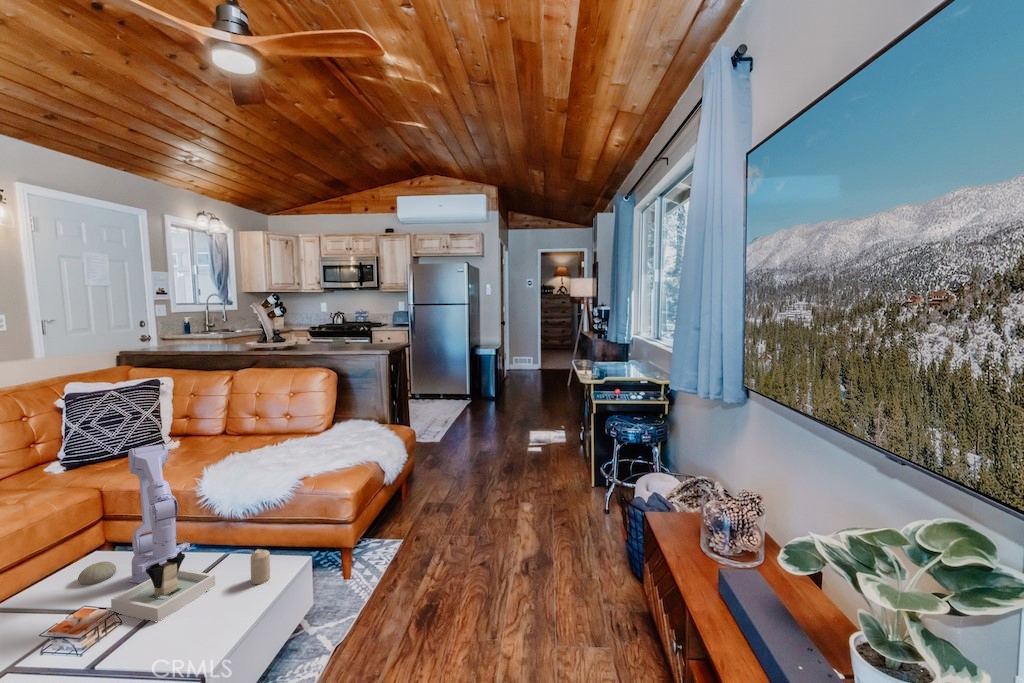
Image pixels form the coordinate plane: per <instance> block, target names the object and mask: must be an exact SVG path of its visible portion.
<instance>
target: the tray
mask: <svg viewBox="0 0 1024 683" xmlns="http://www.w3.org/2000/svg"><path fill="white" fill-rule="evenodd" d="M214 586H215V587H216V574H214V573H213V574H211V573H207V572H200V571H194V570H190V569H184V568H183V569H182V568H179V571H178V574H177V588H178V589H176V590H174V591H173V592H172V593H171V595H169V596H167V597H166V598H164V599H159V598H161V597H162V596H161V595H156V594H154V585H153V582H152V580H151V579H149V580H147V581H145V582H143V583H141V584H139V583H138V585H136V586H133V587H132V588H130V589H128V590H126V591H124V592H123V593H120V594H118V595H117V596H114V597H113V598H111V599H110V603H111V604H110V606H111V607H110V609H111V610H112V611H115V612H117V613H119V614H118V615H120V614H122V615H121V616H126V617H129V616H131V618H134V617H136V618H135V619H139V618H141V619H140V620H143V619H146V620H145V621H148V620H152V621H157V622H158V621H160V620H161V619H163V618H165V617H166V616H168V615H169V616H171V615H172V614H171V613H173V612H174V613H176V612H177V611H176V610H178V609H179V610H181V609H182V608H184V607H185V606H184V605H186V604H187V605H189V604H191V603H192V602H193V601H192V600H194V599H195V598H197V597H199V596H200V595H202V594H203V593H205V592H206V591H208V590H209V589H210V588H212V587H214ZM208 592H209V591H208ZM205 594H206V593H205ZM203 595H204V594H203ZM203 595H202V596H203ZM160 596H161V597H160ZM158 597H159V598H158ZM200 597H201V596H200ZM200 597H199V598H200ZM156 598H157V599H156ZM197 599H198V598H197ZM195 600H196V599H195ZM195 600H194V601H195ZM191 601H192V602H191ZM188 603H189V604H188ZM187 605H186V606H187ZM183 606H184V607H183ZM181 607H182V608H181ZM180 608H181V609H180ZM179 610H178V611H179ZM175 611H176V612H175ZM174 613H173V614H174ZM170 614H171V615H170ZM169 616H168V617H169ZM166 618H167V617H166ZM166 618H165V619H166ZM163 620H164V619H163ZM152 621H151V622H152ZM161 621H162V620H161ZM161 621H160V622H161ZM157 622H156V623H157ZM158 623H159V622H158Z"/></svg>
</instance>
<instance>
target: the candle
mask: <svg viewBox="0 0 1024 683" xmlns="http://www.w3.org/2000/svg"><path fill="white" fill-rule="evenodd" d="M270 554H271V552H270V551H269V550H267V549H262V548H258V549H256V550H255V551H254V552H252V554H251V555H250V582H251V584H252V583H253V584H252V585H255V584H257V585H262V584H264V582H265V583H267V582H268V581H269V580H270V579H271V557H270V556H271V555H270ZM266 581H267V582H266ZM261 583H262V584H261Z"/></svg>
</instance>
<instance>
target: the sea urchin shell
mask: <svg viewBox="0 0 1024 683" xmlns="http://www.w3.org/2000/svg"><path fill="white" fill-rule="evenodd" d="M116 571H117V566H116V565H115V563H113V562H112V561H100V562H97V563H93V564H90V565H88V566H87V567H86V568H84V569H83V570H81V572H80V573H79V575H78V577H77V581H78V583H79V584H81V585H94V584H99V583H101V582H103V581H105V580H108V579H110V578H111V577H112V576H114V575H115V574H116V573H117V572H116Z"/></svg>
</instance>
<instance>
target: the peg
mask: <svg viewBox="0 0 1024 683" xmlns="http://www.w3.org/2000/svg"><path fill="white" fill-rule="evenodd" d="M160 566H164V570H163V574H162V586H161V588H154V594H156V595H161V597H166V596H167V595H169V594H172V593H171V592H173V591H174V590H176V589H178V588H177V563H172V562H165V563H163V564H161V565H160Z"/></svg>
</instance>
